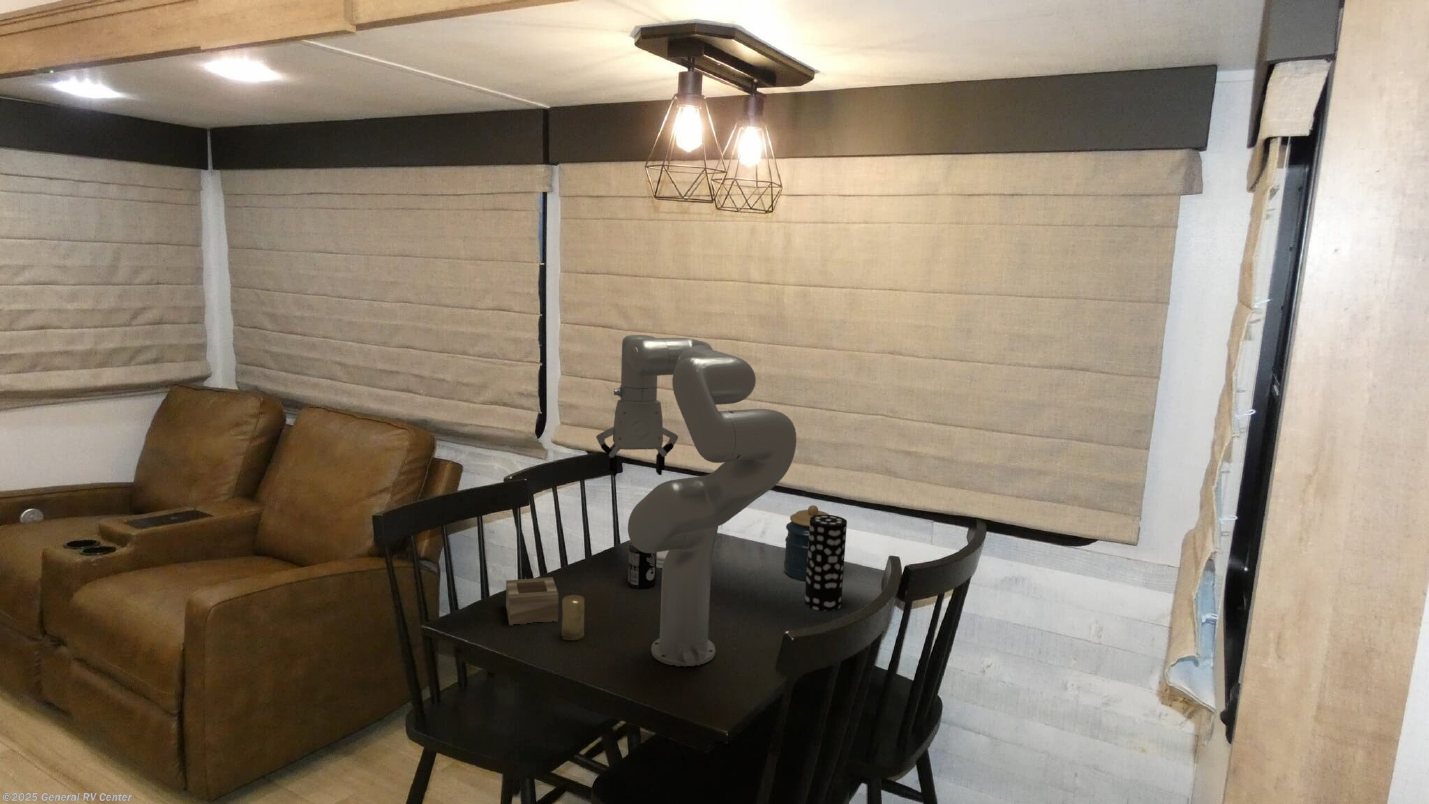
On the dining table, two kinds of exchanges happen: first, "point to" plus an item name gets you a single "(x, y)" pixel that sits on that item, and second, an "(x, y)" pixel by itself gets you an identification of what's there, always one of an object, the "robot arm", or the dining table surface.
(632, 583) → the beverage can
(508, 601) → the frame
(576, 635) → the banded brass cylinder
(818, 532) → the white-spotted black cylinder
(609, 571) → the dining table surface
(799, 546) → the canister
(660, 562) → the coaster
